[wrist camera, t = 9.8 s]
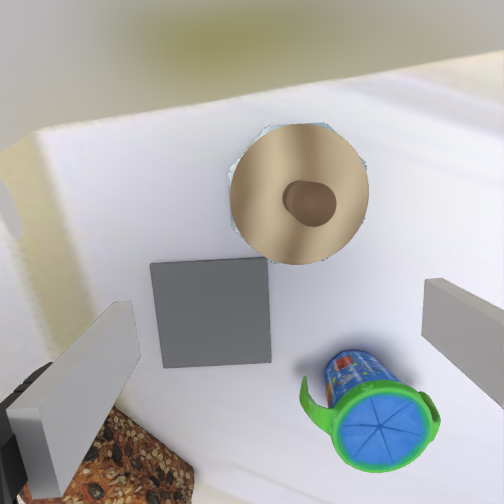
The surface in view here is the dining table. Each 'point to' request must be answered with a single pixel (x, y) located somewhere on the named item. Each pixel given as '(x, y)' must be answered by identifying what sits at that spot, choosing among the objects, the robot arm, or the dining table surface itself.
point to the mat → (212, 312)
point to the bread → (125, 470)
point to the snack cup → (372, 414)
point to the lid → (299, 194)
